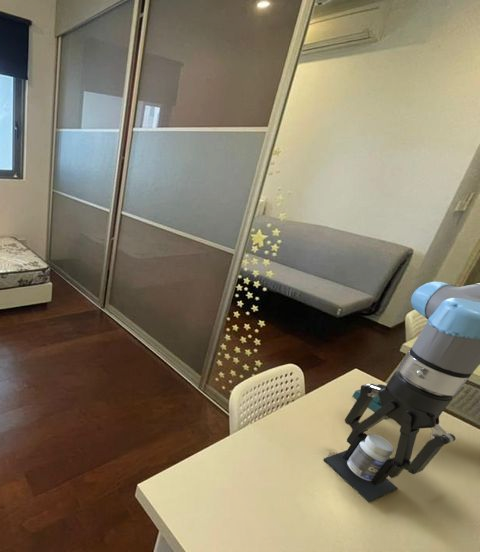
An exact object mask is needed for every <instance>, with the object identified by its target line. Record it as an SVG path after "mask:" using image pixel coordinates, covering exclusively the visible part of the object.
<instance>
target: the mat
mask: <svg viewBox="0 0 480 552" xmlns="http://www.w3.org/2000/svg"><path fill="white" fill-rule="evenodd" d="M347 450H348V449H346V450H343V451H340V452H338V453H335V454H332V455H330V456H326V457H324V458H323V461H324V463H326V464H327V465H328V466H329V467H330V468H331V469H332V470H334V472H335V473H337V474H338V476H340V477H341V478H342V479H343V480H344V481H345V482H347V484H348V485H349V486H351V487H352V488H353V489H354V490H355V491H356V492H357V493H358V494H359V495H360V496H361V497H362V498H363V499H365V500H366V501H367V502H368V503H371V502H374V501H375V500H378V499H379V498H382V497H384V496H387V495H388V494H390V493H392V492H394V491H397V490H398V489H399V487H398V486H396V485H395V484H394V483H393V482H392V481H391V480H389V479H388V477H387V478H386V479H385V481H384V482H382V483H380V484H378V485H376V486H375V485H374V484H373V483H371V481H368V480H364V479H362V478H360V477H359V476H357V475H356V474H355V473H354V472H353V471H352V470H351V469H350V468H349V466H348V464H347V461H348V460H345V459H344V458H343V456H344V454H345V453H346V451H347Z"/></svg>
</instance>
